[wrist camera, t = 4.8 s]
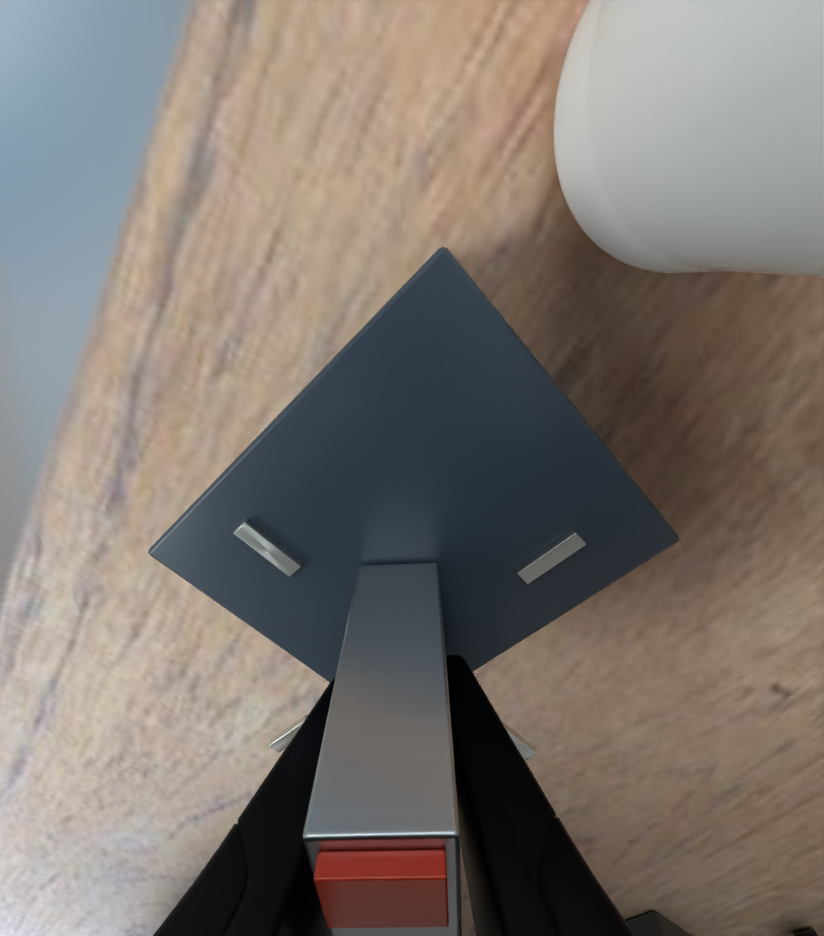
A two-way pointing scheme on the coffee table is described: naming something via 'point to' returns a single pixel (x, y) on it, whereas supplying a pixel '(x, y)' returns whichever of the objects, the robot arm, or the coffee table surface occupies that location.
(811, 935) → the valve
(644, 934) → the button box
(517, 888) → the robot arm
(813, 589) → the coffee table surface
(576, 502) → the lever base
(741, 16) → the drinking glass
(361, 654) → the tap handle
